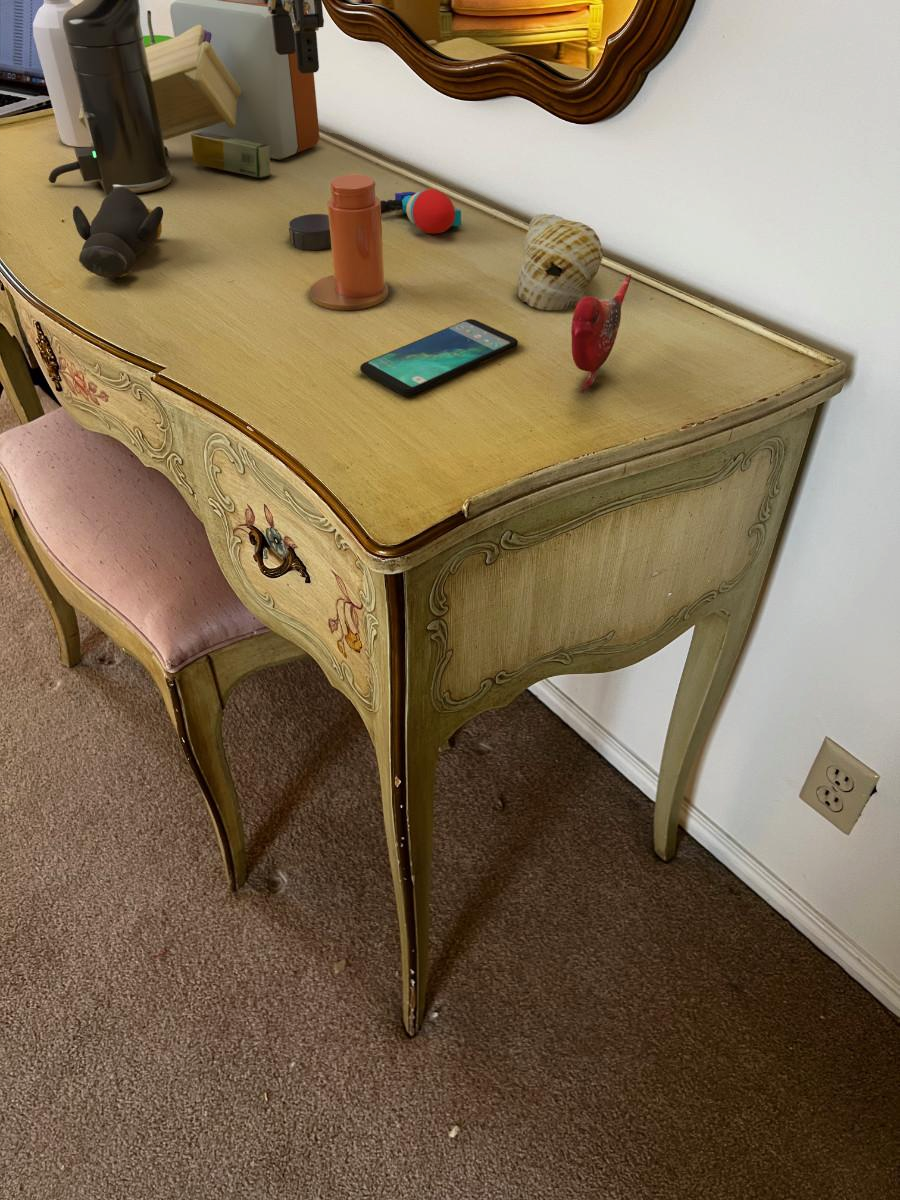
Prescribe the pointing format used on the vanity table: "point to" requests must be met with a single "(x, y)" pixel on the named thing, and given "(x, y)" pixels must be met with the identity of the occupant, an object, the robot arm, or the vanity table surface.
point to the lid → (310, 232)
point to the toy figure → (426, 210)
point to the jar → (356, 236)
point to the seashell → (557, 262)
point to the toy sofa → (190, 84)
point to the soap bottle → (59, 71)
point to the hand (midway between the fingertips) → (296, 62)
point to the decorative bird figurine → (596, 331)
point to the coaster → (329, 298)
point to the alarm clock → (256, 74)
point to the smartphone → (438, 356)
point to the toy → (117, 233)
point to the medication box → (231, 154)
